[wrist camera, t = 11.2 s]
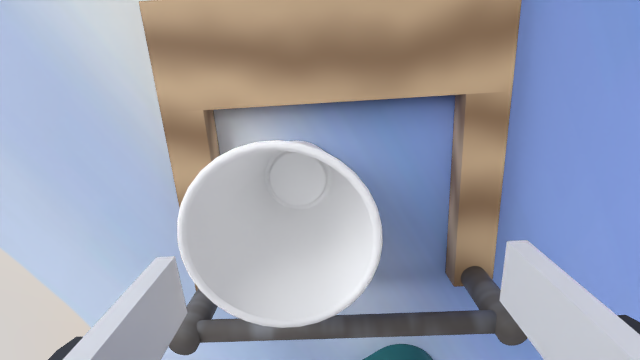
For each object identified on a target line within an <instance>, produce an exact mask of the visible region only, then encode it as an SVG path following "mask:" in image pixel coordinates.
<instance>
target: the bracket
mask: <svg viewBox="0 0 640 360" xmlns="http://www.w3.org/2000/svg"><path fill="white" fill-rule="evenodd" d="M363 360H432V358H431V357H430V356H429V354H428V353H426V352H425V351H424V350H422V349H420V348H418V347H416V346H413V345H408V344H395V345H390V346H387V347H384V348H382V349H380V350H378V351H377V352H375V353H373V354H372V355H370V356H368V357H367V358H365V359H363Z"/></svg>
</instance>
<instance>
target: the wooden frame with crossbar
mask: <svg viewBox="0 0 640 360" xmlns="http://www.w3.org/2000/svg"><path fill="white" fill-rule="evenodd" d="M139 6H140V11H141V16H142V21H143V26H144V31H145V36H146V41H147V46H148V51H149V56H150V61H151V66H152V71H153V76H154V81H155V86H156V91H157V96H158V101H159V106H160V111H161V116H162V121H163V127H164V132H165V137H166V142H167V147H168V152H169V157H170V162H171V167H172V172H173V177H174V182H175V187H176V192H177V197H178V202H179V207H180V205H181V202H182V200H183V198H184V196H185V194H186V191H187V189H188V187H189V186H190V184H191V183H192V182H193V180H194V179H195V178H196V176H197V175H198V174H199V172H200V171H201V170H202V169H203V168H205V167H206V166H207V165H208V164H209V163H211V162H212V161H213V160H214V159H215V158H217V157H218V156H220V153H219V146H218V140H217V133H216V126H215V120H214V113H213V110H215V109H232V108H248V107H264V106H281V105H297V104H313V103H330V102H346V101H363V100H379V99H395V98H412V97H428V96H444V95H455V110H454V128H453V146H452V164H451V182H450V200H449V217H448V235H447V253H446V271H445V273H446V274H447V276H448V278H449V279H450V281H451V283H452V284H453V286H464V287H465V288H466V290H467V291H468V293H469V294H470V296H471V297H472V299H473V301H474V302H475V304H476V305H477V307H478V308H479V310H478V311H448V312H419V313H389V314H360V315H335V316H332V317H330V318H328V319H325V320H323V321H321V322H318V323H314V324H310V325H305V326H301V327H287V328H279V327H269V326H262V325H258V324H255V323H251V322H247V321H244V320H242V319H212V317H213V315H214V313H215V311H216V309H217V307H218V306H217V305H215V304H214V303H213V302H212V301H211V300H210V299H209V298H208V297H206V296H205V295H204V294H203V293H202V292H201V291H200V290H199V288H198V287H197V285H196V284H195V288H196V293H195V294H194V296H193V297H192V299H191V301H190V302H189V304H188V305H187V307H186V308H187V312H188V313H187V315H186V317H185V318H184V320H183V322H182V324H181V325H180V327H179V329H178V331H177V332H176V334H175V336H174V338H173V339H172V341H171V343H170V344H169V348H170V349H171V350H172V351H173V352H175V353H177V354H180V355H189V354H192V353H194V352H195V351H196V349H197V347H198V345H199V343H203V342H235V341H267V340H300V339H332V338H364V337H397V336H429V335H461V334H494V333H495V334H496V336H497V337H498V339H499V340H500V341H501V342H502V343H503V344H506V345H518V344H521V343H523V342H524V341H525V340H526V339H527V336H526V335H525V334H524V332H523V331H522V330H521V328H520V327H519V326H518V324H517V323H516V322H515V320H514V319H513V318H512V316H511V315H510V314H509V312H508V311H507V310H506V309H505V307H504V306H503V305H502V303H501V302H500V301H499V300H500V292H501V290H500V289H499V287H498V286H497V285H496V284H495V283H494V281H493V280H492V279H493V270H494V260H495V250H496V241H497V231H498V221H499V212H500V202H501V193H502V183H503V173H504V164H505V154H506V144H507V135H508V125H509V116H510V106H511V96H512V87H513V77H514V67H515V58H516V48H517V39H518V29H519V19H520V10H521V0H151V1H139ZM211 319H212V320H211Z"/></svg>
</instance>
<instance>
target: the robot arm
mask: <svg viewBox="0 0 640 360" xmlns="http://www.w3.org/2000/svg"><path fill="white" fill-rule="evenodd" d="M499 301H500V302H501V303H502V305H503V306H504V307H505V309H506V310H507V311H508V312H509V314H510V315H511V316H512V318H513V319H514V320H515V322H516V323H517V324H518V326H519V327H520V328H521V330H522V331H523V332H524V334H525V335H526V336H527V338H528V339H529V340H530V341H531V343H532V344H533V345H534V347H535V348H536V349H537V351H538V352H539V353H540V355H541V356H542V357H543V359H544V360H640V322H638V321H636V320H634V319H632V318H631V317H629V316H627V315H616V314H615V313H613V312H612V311H611V310H610V309H609V308H607V307H606V306H605V305H604V304H603V303H601V302H600V301H599V300H598V299H597V298H595V297H594V296H593V295H592V294H591V293H589V292H588V291H587V290H586V289H585V288H584V287H582V286H581V285H580V284H579V283H578V282H576V281H575V280H574V279H573V278H572V277H570V276H569V275H568V274H567V273H566V272H564V271H563V270H562V269H561V268H560V267H558V266H557V265H556V264H555V263H554V262H552V261H551V260H550V259H549V258H548V257H547V256H545V255H544V254H543V253H542V252H541V251H539V250H538V249H537V248H536V247H535V246H533V245H532V244H531V243H530V242H529V241H527V240H520V241H507V245H506V252H505V260H504V268H503V276H502V284H501V292H500V300H499ZM187 313H188V312H187V308H186V304H185V299H184V295H183V290H182V286H181V281H180V277H179V272H178V268H177V264H176V259H175V256H173V257H156V258H155V259H154V260H153V261H152V262H151V264H150V265H149V266H148V267H147V268H146V269H145V270H144V271H143V272H142V273H141V274H140V276H139V277H138V278H137V279H136V280H135V281H134V282H133V283H132V284H131V285H130V287H129V288H128V289H127V290H126V291H125V292H124V293H123V294H122V295H121V296H120V297H119V299H118V300H117V301H116V302H115V303H114V304H113V305H112V306H111V307H110V308H109V309H108V311H107V312H106V313H105V314H104V315H103V316H102V317H101V318H100V319H99V320H98V322H97V323H96V324H95V325H94V326H93V327H92V328H91V329H90V330H89V331H88V332H87V334H86V335H85V336H84V337H75V338H74V339H73V340H71V341H70V342H69V343H67V344H66V345H64V346H63V347H61V348H60V349H58V350H57V351H56V352H55V353H54V354H53V355H52V356H51V357H50V358H49V359H48V360H161V358H162V357H163V355H164V353H165V351H166V350H167V348H168V346H169V344H170V343H171V341H172V339H173V338H174V336H175V334H176V332H177V331H178V329H179V327H180V325H181V324H182V322H183V320H184V318H185V317H186V315H187Z"/></svg>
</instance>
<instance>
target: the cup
mask: <svg viewBox="0 0 640 360" xmlns="http://www.w3.org/2000/svg"><path fill="white" fill-rule="evenodd" d="M177 241H178V246H179V250H180V254H181V258H182V261H183V263H184V265H185V267H186V269H187V272H188V274H189V276H190V277H191V278H192V280H193V281H194V283H195V284H196V285H197V287H198V288H199V290H200V291H201V292H202V293H203V294H204V295H205V296H206V297H208V298H209V299H210V300H211V301H212V302H213V303H214V304H215V305H217V306H218V307H220V308H221V309H223V310H224V311H226V312H227V313H229V314H231V315H233V316H235V317H238V318H240V319H242V320H244V321H247V322H251V323H255V324H258V325H262V326H269V327H279V328H287V327H301V326H305V325H310V324H314V323H318V322H321V321H323V320H325V319H328V318H330V317H332V316H335V315H336V314H338V313H339V312H341V311H342V310H344V309H345V308H347V307H349V306H350V305H351V304H352V303H353V302H354V301H355V300H356V299H357V298H358V297H359V296H360V295H361V294H362V293H363V292H364V290H365V289H366V287H367V286H368V284H369V283H370V282H371V280H372V279H373V276H374V274H375V271H376V269H377V267H378V264H379V262H380V256H381V251H382V245H383V240H382V224H381V220H380V216H379V212H378V208H377V205H376V204H375V202H374V200H373V198H372V196H371V194H370V192H369V190H368V188H367V187H366V186H365V184H364V183H363V182H362V181H361V179H360V178H359V177H358V176H357V174H356V173H355V172H354V171H352V170H351V169H350V168H349V167H348V166H346V165H345V164H344V163H343V162H342V161H340V160H339V159H337V158H335V157H334V156H332V155H330V154H328V153H326V152H325V151H323V150H322V149H321V148H320V147H318V146H316V145H314V144H312V143H309V142H306V141H298V140H297V141H281V140H272V141H260V142H253V143H250V144H246V145H243V146H239V147H236V148H233V149H232V150H230V151H228V152H226V153H224V154H222V155H220V156H218V157H217V158H215V159H214V160H213V161H212V162H211V163H209V164H208V165H207V166H206V167H205V168H203V169H202V170H201V171H200V172H199V174H198V175H197V176H196V178H195V179H194V180H193V182H192V183H191V184H190V186H189V187H188V189H187V191H186V194H185V196H184V198H183V200H182V202H181V205H180V210H179V215H178V220H177Z"/></svg>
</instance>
